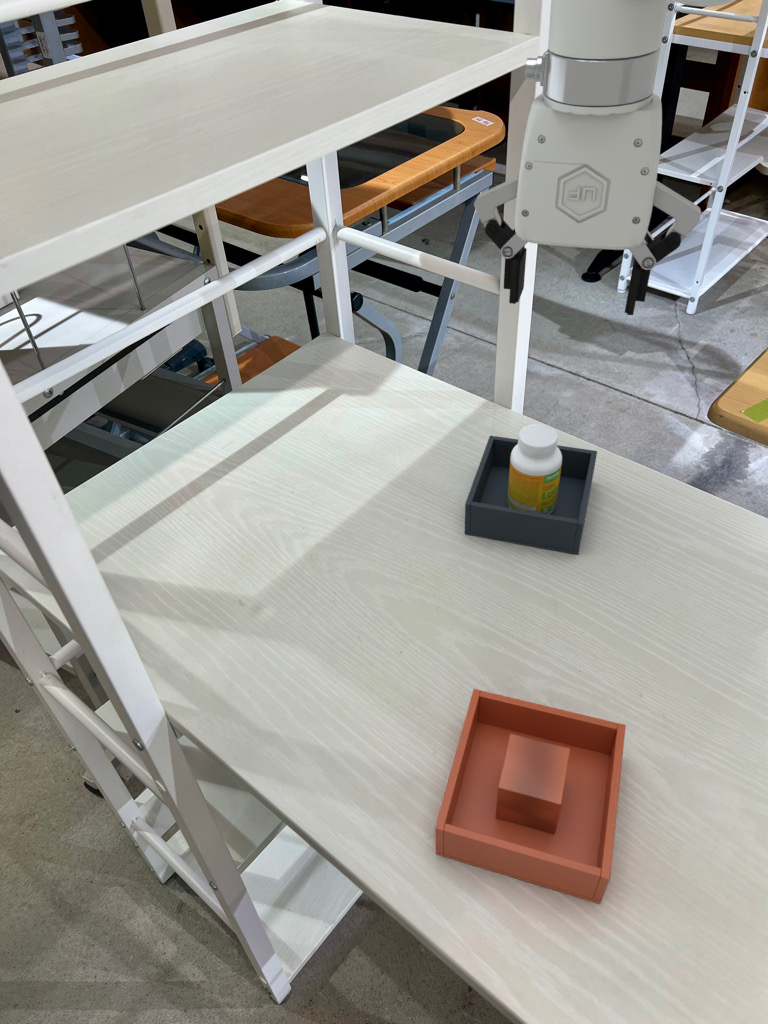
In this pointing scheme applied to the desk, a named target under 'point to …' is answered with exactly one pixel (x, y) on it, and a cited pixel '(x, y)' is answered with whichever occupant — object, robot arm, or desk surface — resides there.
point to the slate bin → (545, 531)
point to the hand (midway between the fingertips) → (572, 301)
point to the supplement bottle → (535, 470)
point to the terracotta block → (532, 783)
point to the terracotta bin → (585, 805)
